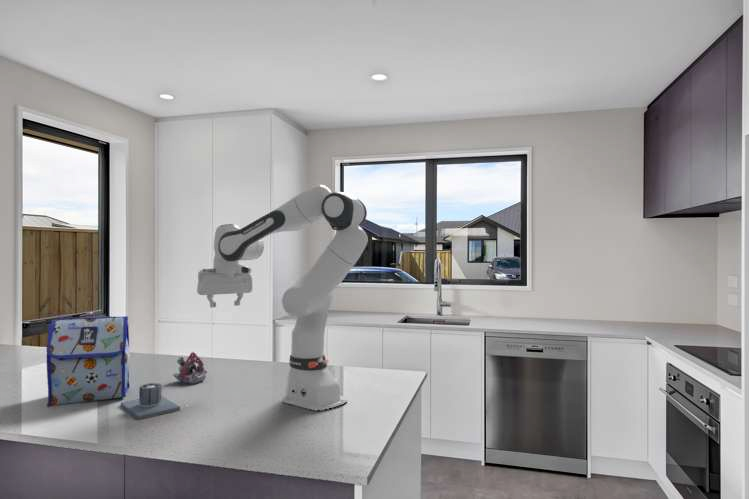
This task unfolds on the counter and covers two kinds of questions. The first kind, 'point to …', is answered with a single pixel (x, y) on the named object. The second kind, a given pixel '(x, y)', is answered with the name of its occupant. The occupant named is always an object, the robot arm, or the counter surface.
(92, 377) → the lunch bag
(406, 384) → the counter surface
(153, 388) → the hub ring
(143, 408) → the post block
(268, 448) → the counter surface
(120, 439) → the counter surface
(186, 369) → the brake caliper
